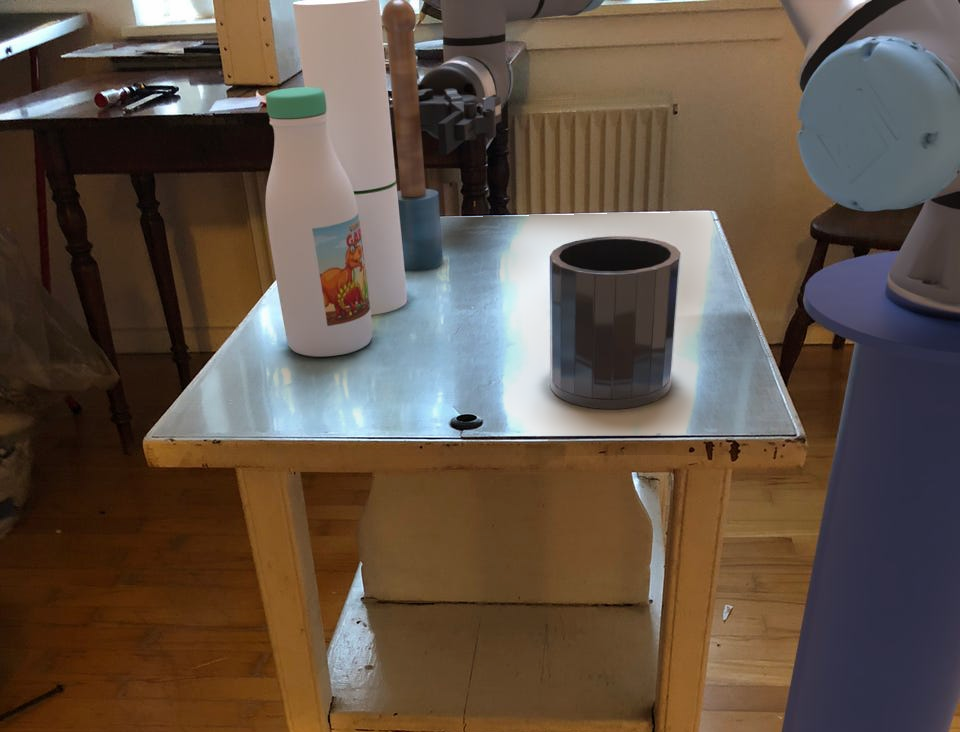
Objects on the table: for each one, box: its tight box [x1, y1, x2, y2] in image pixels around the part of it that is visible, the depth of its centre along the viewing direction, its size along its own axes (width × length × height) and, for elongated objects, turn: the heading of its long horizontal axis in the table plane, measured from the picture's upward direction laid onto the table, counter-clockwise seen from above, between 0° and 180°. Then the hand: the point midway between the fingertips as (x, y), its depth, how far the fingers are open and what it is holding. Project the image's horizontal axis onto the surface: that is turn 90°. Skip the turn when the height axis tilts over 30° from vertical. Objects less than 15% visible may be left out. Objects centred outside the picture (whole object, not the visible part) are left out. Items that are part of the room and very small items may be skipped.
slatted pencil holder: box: [549, 235, 681, 410], centre depth 74 cm, size 9×9×10 cm
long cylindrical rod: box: [381, 0, 444, 272], centre depth 98 cm, size 5×5×24 cm
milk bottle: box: [265, 86, 374, 358], centre depth 81 cm, size 8×8×20 cm
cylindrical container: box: [292, 0, 408, 316], centre depth 88 cm, size 7×7×25 cm
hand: (394, 139), depth 94 cm, fingers open, 9 cm apart
